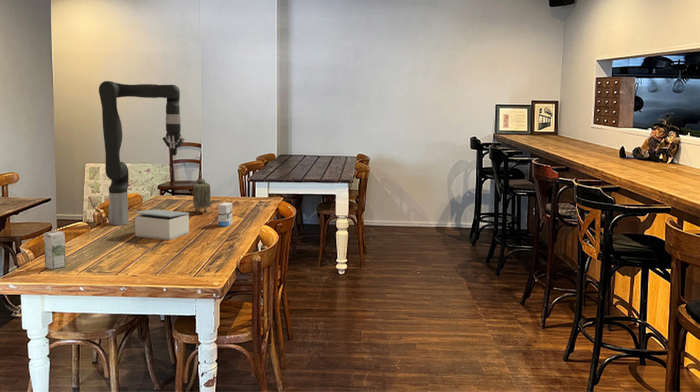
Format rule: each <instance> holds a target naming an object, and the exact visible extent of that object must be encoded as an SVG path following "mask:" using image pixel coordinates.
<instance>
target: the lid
mask: <svg viewBox="0 0 700 392" xmlns="http://www.w3.org/2000/svg"><path fill="white" fill-rule="evenodd" d="M133 214H138V215H142V214H146V215H155V216H164V217H173V216H180V215H186V214H189V215H190V212H185V211H184V212H183V211H175V210H166V209H165V210H164V209H156V208H155V209H148V210H146V209H145V210H140V211H139V210H137V211H134V212H133Z"/></svg>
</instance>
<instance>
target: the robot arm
mask: <svg viewBox="0 0 700 392" xmlns="http://www.w3.org/2000/svg"><path fill="white" fill-rule="evenodd" d="M98 93H99V99H100V104H101V111H102V112H101V113H102V114H101V117H102V118H101V119H102V131H103V142H104V151H105V167H104V170H105V175H106V177H107V178H108V179H109V180H111V182H110V185H109V186H108V201H109V205H108V206H107V212H108V213H107V214H108V216H107V217H108V224H109V225H113V226H124V225H128V224H129V199H128V188H129V181H130V179H129V178H130V177H129V167H128V165H127V164H126V163H125V162H123V161H121V157H120V152H121V151H120V150H121V147H122V143H123V142H122V141H123V128H122V127H123V126H122V125H123V124H122V121H121V118H120V114H119V111H118V104H117V102H118V101H117V99H119V98H126V97H132V98H133V97H134V98H142V99H143V98H145V99H147V98H148V99H149V98H150V99H151V98H152V99H159V98H162V99H166V105H165V132H166V134H165V136H164V137H162V140H163V142H164V143H165V145H166V147H168V148H170V155H171V156H174V157H175V156H177V154H178V148H181V146H182V144H183V143H184V142H185V140H186V139H185V138H184V137H182V134H181V128H182V127H181V126H182V125H181V112H180V111H181V110H180V99H181V98H180V97H181V90H180V88H179V86H177V85H175V84H155V83H154V84H152V83H151V84H150V83H148V84H147V83H141V84H124V83H119V82H115V81H111V80H105V81H102V82H101V83H100V84H99V87H98Z"/></svg>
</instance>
